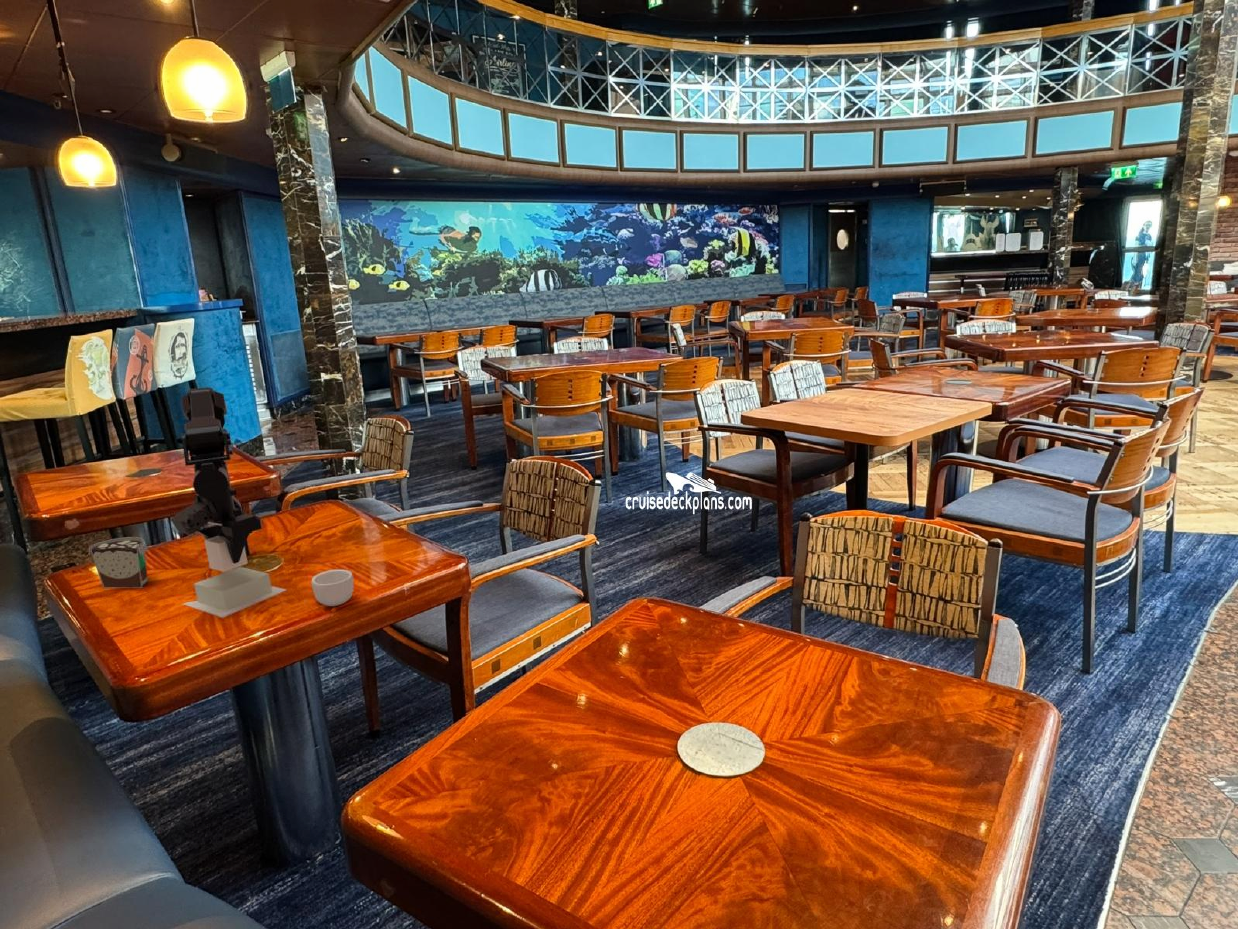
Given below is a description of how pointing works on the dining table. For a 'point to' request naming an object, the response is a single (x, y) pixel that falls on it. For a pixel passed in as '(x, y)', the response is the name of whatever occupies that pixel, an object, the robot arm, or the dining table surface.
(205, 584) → the base brick
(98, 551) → the food container
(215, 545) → the pink brick
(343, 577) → the teacup
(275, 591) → the base plate
